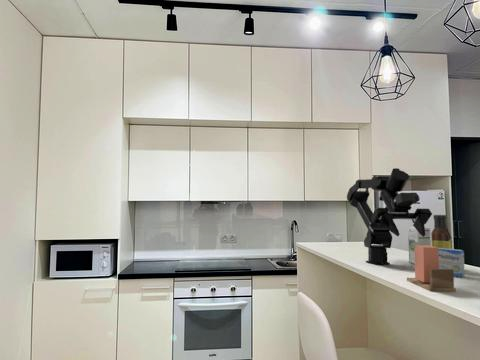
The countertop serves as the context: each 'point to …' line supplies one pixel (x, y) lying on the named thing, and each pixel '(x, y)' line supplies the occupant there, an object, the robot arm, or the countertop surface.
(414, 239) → the syrup box
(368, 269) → the countertop surface
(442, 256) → the medicine box
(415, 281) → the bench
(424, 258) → the pink tall block
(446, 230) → the sauce bottle
